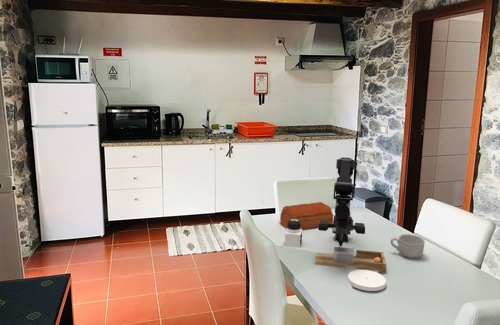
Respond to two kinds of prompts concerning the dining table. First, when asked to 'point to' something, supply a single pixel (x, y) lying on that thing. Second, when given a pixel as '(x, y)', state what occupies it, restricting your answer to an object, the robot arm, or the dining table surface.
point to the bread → (306, 214)
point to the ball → (377, 260)
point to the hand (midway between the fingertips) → (340, 246)
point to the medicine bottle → (293, 234)
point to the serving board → (355, 261)
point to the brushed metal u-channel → (343, 255)
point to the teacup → (409, 245)
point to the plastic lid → (367, 280)
